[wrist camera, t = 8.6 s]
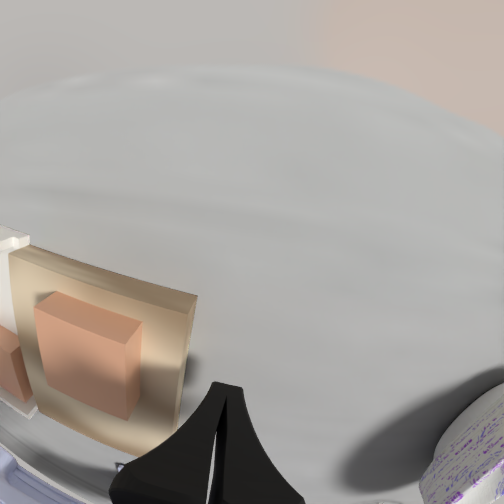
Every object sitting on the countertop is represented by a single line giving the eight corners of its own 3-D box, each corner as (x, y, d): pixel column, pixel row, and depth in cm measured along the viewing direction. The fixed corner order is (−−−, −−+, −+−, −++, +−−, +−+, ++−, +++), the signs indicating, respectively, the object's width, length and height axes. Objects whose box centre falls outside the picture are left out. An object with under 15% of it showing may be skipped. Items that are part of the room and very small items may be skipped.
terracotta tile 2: (139, 396, 13) (127, 421, 12) (64, 365, 13) (47, 385, 11) (142, 321, 12) (125, 344, 10) (56, 291, 12) (33, 306, 10)
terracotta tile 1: (37, 388, 16) (25, 403, 14) (-1, 364, 16) (-14, 375, 14) (26, 340, 15) (10, 353, 13) (-13, 316, 15) (-29, 326, 13)
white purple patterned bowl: (437, 383, 15) (489, 463, 8) (550, 335, 14) (597, 375, 7) (390, 486, 19) (407, 544, 11) (498, 441, 18) (523, 482, 11)
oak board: (175, 446, 17) (169, 466, 15) (50, 396, 17) (39, 411, 15) (197, 295, 14) (187, 314, 12) (29, 244, 14) (8, 253, 12)
